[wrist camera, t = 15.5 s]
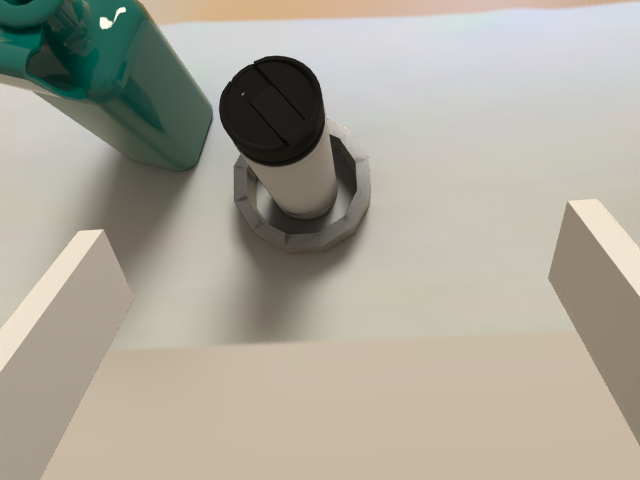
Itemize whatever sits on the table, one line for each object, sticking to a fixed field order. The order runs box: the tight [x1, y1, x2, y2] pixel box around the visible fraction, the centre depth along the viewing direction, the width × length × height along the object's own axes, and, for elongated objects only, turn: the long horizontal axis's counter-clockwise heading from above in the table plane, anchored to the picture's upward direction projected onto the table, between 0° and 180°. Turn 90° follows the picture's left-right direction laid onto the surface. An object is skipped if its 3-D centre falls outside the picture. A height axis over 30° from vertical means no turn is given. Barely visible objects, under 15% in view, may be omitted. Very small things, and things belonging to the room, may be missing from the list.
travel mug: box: [219, 56, 337, 221], centre depth 36 cm, size 6×7×20 cm
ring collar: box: [234, 119, 371, 254], centre depth 44 cm, size 12×12×4 cm
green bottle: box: [0, 0, 213, 171], centre depth 37 cm, size 10×8×22 cm
